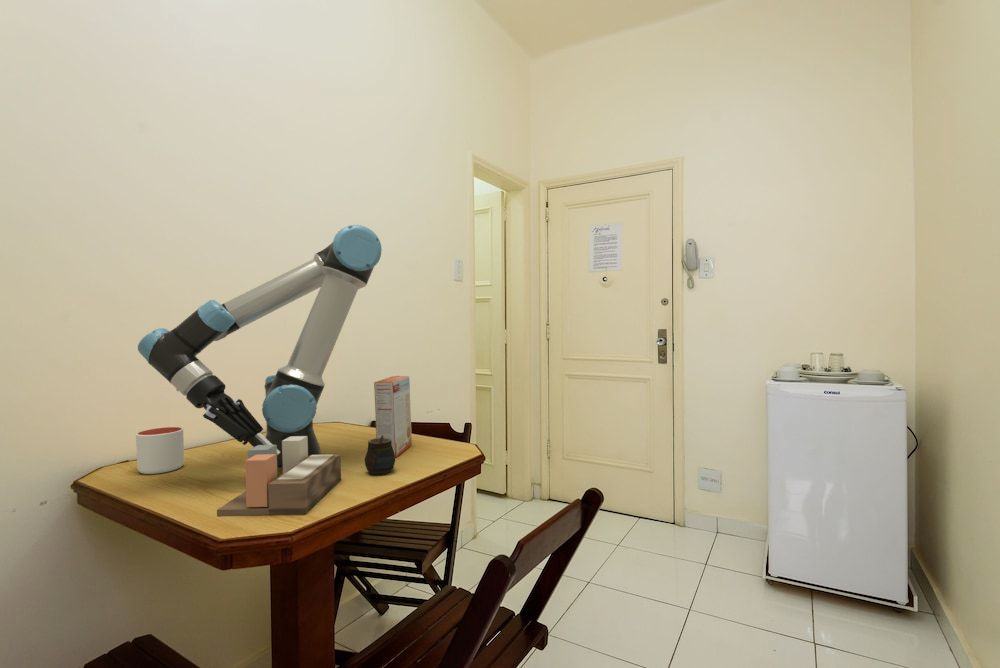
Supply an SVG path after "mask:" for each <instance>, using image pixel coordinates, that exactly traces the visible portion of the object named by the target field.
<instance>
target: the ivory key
mask: <svg viewBox="0 0 1000 668" xmlns="http://www.w3.org/2000/svg"><path fill="white" fill-rule="evenodd" d="M307 457H308V438H307V436H290V437H288V438H286V439H285V440H283V441H282V461H283V466H282V474H283V473H285V472H286V471H288V470H289V469H291V468H292V467H294V466H295V465H297V464H298V463H300V462H301V461H302V460H304V459H305V458H307Z"/></svg>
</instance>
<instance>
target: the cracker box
mask: <svg viewBox="0 0 1000 668" xmlns="http://www.w3.org/2000/svg"><path fill="white" fill-rule="evenodd" d="M373 385H374V387H373V388H374V409H375V410H374V411H375V415H374V416H375V435H376V436H375V438H381V436H383V435H384V436H383V438H389V439H391V440H392V441H391V443H392V444H391V445H392V448H393V451H394V454H395V459H396V458H398V457H399V456H400V455H401V454H402V453H404V452H405V451H406V450H407V449H409V448H410V447H411V446H412V445H413V442H412V441H413V438H412V415H411V414H412V411H411V386H410V385H411V384H410V376H409V375H392V376H390V377H386V378H384V379H381V380H377V381H374V382H373Z"/></svg>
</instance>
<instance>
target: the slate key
mask: <svg viewBox="0 0 1000 668" xmlns="http://www.w3.org/2000/svg"><path fill="white" fill-rule="evenodd" d="M257 454H276V463H277V445H257V446H255V447H253V446H252V447H251V448H250V449H248V450H247V459H249V458H251V457H253V456H254V455H257ZM278 474H279V473H278V471H277V478H278V476H279V475H278Z"/></svg>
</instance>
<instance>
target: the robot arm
mask: <svg viewBox="0 0 1000 668" xmlns="http://www.w3.org/2000/svg"><path fill="white" fill-rule="evenodd" d="M381 257H382V244H381V240H380V239H379V237H378V235H377V234H376V233H375V232H374V231H373V230H372V229H370V228H368V227H366V226H364V225H361V224H360V225H359V224H351V225H347V226H344V227H343V228H340V230H339V231H337V233H336V234H335V235H334V237H333V241H332V242H331V243H330V244H329V245H328V246H326V247H325V248H323V249H322V250H320V251H318V252H316V253H314V255H313V259H311V260H308V261H306V262H304V263H303V264H301V265H298V266H296V267H294V268H293V269H291V270H288V271H287V272H284V273H282V274H280V275H278V276H276V277H274V278H272V279H270V280H267V281H265V282H264V283H262V284H260V285H258V286H255V287H254V288H252V289H250V290H249V291H246V292H244V293H241V294H240V295H238V296H236V297H234V298H231V299H230V300H228V301H226V302H224V303H222V304H221V303H219V302H218V301H217V300H215V299H210V300H208V301H207V302H205V303H203V304H202V305H200V306H199V307H198V308H197V309H196V310H195V311H194V312H193V313H192V314H191V315H189V316H188V317H187V318H186V319H184V320H183V321H182V322H181V323H180V324H178V325H177V326H176V327H174V328H173V329H171V330H168V329H167V328H163V327H161V328H157V329H154V330H153V331H151V332H148V333H147V334H145V336H143V337H142V338H141V339H140V341H139V343H138V344H137V351H138V353H139V354H140V355H141V356H142V357H143V358H144V359H145V360H146V361H147V363H148V364H149V365H150V366H151V367H152V368H153V369H155V370H156V371H157V372H158V373H159V374H160V375H161V376H162V377H164V378H165V380H167V381H168V382H169V384H171V385H172V386H173V387H174V388H175V389H176V391H177V392H179V393H181V394H182V395H183V396H185V397H186V400H187V401H188V402H189V403H190V404H192V405H193V406H194V407H195V408H196V409H203V410H205V413H204V414H203V415H202V417H203V418H204V419H205V420H207V421H210V422H211V423H213V424H215V425H216V426H218V428H220V429H221V430H222V431H223V432H225V433H227V434H228V435H229V436H230V437H232V438H234V439H235V440H236V441H237V442H239V443H242V445H244V446H245V445H247V444H249V445H251V446H252V448H253V447H255V446H257V445H277V467H283V461H282V441H283V440H285V439H286V438H288V437H290V436H307V438H308V456H310V455H321V446H320V443H319V441H318V438H317V435H316V433H315V430H314V418H315V416H316V414H317V409H318V408H317V405H318V403H319V400H320V398H321V395H322V393H323V391H324V388H325V386H326V384H325V382H324V380H323V374H324V372H325V370H326V367H327V365H328V363H329V360H330V357H331V355H332V352H333V351H334V347H335V346H336V343H337V341H338V339H339V336H340V334H341V331H342V328H343V326H344V324H345V321H346V319H347V317H348V314H349V312H350V310H351V308H352V305H353V302H354V300H355V297H356V295H357V293H358V290H360V289H362V288H365V287H366V286H367V284H368V282H369V279H370V278H371V276H372V273H373V272H374V271H373V270H374V268H375V267H376V266H377V264H378V263H379V262H380V260H381ZM318 289H319V290H318ZM316 290H318V292H317V295H316V297H315V299H314V302H313V304H312V306H311V309H310V311H309V313H308V316H307V318H306V320H305V323H304V325H303V328H302V330H301V332H300V334H299V337H298V339H297V341H296V344H295V346H294V349H293V351H292V353H291V356H290V358H289V360H288V362H287V364H286V365H284V366H282V367H280V368H278V369H277V372H276V373H275V375H269V376H267V377H266V378H265V380H264V381H265V382H264V383H265V384H264V391H265V398H264V400H263V403H262V405H261V406H262V409H261V410H262V411H261V413H262V416H263V418H264V419H265V421H266V434H265V436H264V435H263V434H262V433H261V432H262V431H264V428H263V426H262V425H261V424H260V423H259V422H258V421H257V420H256V418H255V417H254V416H253V414H252V413H251V412H250V411H249V410H248V408H247V407H246V406H245V404H244V402H243V400H242V399H240V398H237V400H234V399H233V398H232V397H231V396H229V395H228V394H226V393H225V389H226V384H225V382H223V381H222V380H221V379H220V378H219V377H218V376H217V375H215V374H214V373H213V371H212V370H211V369H210V368H209V367H208V366H206V365H205V363H203V362H202V361H201V360H200V359H199V358H198V357H197V355H199V354H201V353H202V351H203V350H205V349H206V348H207V347H208V346H210V345H211V344H212V343H213V342H216V341H217V342H218V341H220V340H222V339H225V338H226V337H228V335H230V334H233V333H234V332H236V331H238V330H240V329H242V328H244V327H245V326H248V325H250V324H252V323H254V322H255V321H257V320H259V319H262V318H263V317H265V316H267V315H269V314H272V313H273V312H275V311H276V310H279V309H281V308H283V307H285V306H287V305H289V304H290V303H292V302H294V301H297V300H298V299H300V298H302V297H304V296H306V295H308V294H309V293H312V292H314V291H316Z"/></svg>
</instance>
